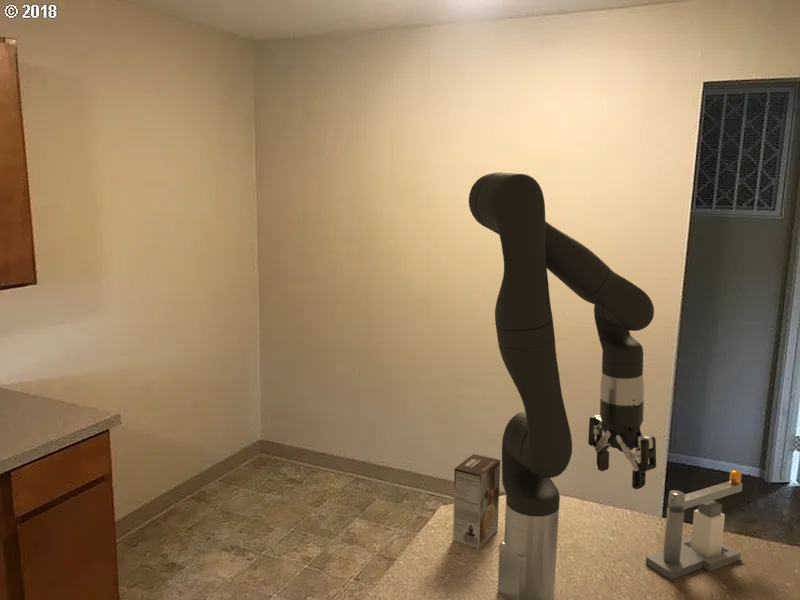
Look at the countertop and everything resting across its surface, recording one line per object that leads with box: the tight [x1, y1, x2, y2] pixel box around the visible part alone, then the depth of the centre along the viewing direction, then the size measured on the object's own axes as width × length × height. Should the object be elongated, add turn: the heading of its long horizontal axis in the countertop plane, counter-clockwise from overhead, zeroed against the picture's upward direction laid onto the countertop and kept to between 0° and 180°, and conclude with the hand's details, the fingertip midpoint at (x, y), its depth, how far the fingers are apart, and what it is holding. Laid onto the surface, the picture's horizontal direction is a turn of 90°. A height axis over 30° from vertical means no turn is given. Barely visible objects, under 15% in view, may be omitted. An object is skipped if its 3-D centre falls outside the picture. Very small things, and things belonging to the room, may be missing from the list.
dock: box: [645, 507, 742, 580], centre depth 133 cm, size 18×9×12 cm, turn 118°
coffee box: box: [452, 453, 501, 550], centre depth 141 cm, size 9×6×16 cm
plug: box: [691, 500, 726, 558], centre depth 135 cm, size 4×4×11 cm
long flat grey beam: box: [667, 468, 744, 512], centre depth 133 cm, size 19×3×4 cm, turn 118°
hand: (620, 478), depth 127 cm, fingers open, 8 cm apart
